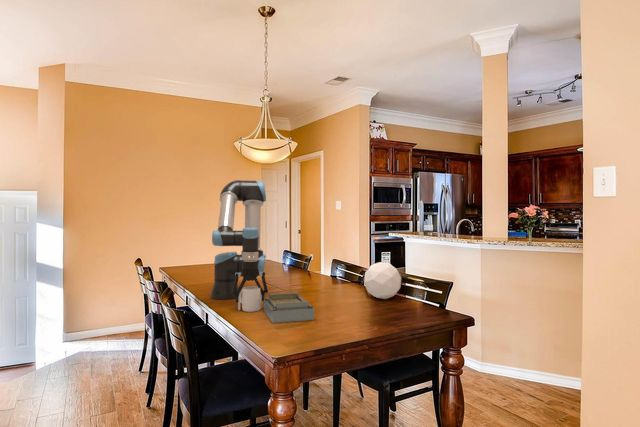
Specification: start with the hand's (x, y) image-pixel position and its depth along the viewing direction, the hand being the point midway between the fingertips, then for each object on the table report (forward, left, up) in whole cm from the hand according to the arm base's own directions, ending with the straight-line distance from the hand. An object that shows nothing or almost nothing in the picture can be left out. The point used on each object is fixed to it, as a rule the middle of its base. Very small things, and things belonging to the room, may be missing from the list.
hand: (249, 308), depth 184 cm
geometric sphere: (-5, +71, 0) cm, 71 cm away
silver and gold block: (+14, +15, 0) cm, 20 cm away
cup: (0, -1, 0) cm, 1 cm away
